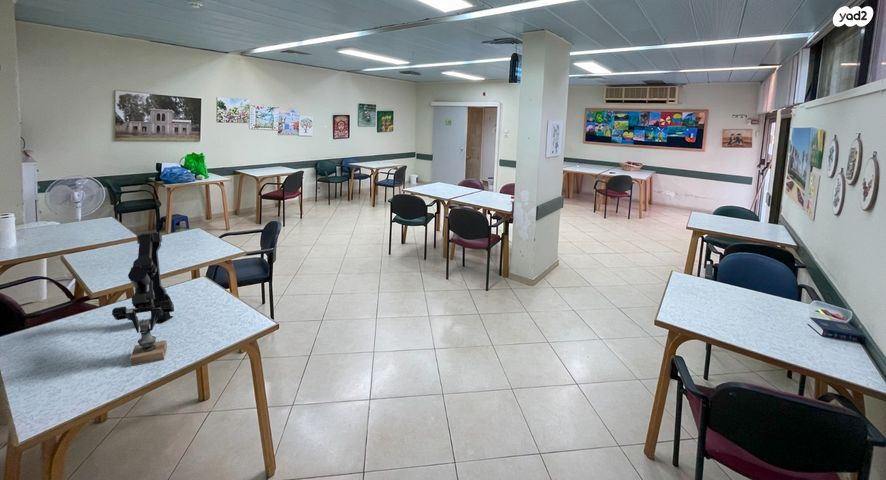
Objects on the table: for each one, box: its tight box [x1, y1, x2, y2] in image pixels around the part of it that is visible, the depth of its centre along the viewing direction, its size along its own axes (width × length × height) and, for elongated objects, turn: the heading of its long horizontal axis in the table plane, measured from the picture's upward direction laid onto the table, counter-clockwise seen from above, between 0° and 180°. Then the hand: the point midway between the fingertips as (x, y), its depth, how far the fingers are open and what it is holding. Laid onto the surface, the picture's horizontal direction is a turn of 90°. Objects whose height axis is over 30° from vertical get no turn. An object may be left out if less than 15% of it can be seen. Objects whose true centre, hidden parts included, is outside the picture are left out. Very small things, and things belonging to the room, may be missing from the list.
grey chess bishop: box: [137, 318, 157, 352], centre depth 164 cm, size 6×6×12 cm
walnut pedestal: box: [129, 339, 168, 366], centre depth 166 cm, size 10×10×3 cm
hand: (144, 331), depth 162 cm, fingers open, 4 cm apart
